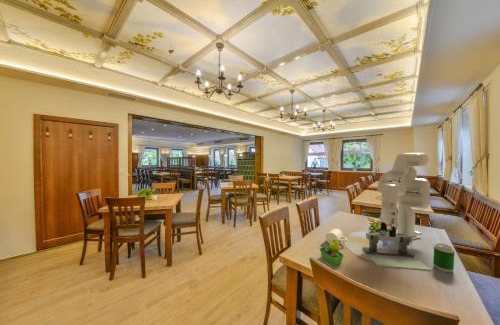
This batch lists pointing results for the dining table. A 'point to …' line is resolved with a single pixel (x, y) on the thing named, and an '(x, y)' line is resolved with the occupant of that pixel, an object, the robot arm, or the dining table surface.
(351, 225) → the dining table surface
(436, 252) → the soda can
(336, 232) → the mug
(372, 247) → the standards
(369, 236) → the rail
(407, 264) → the mat
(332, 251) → the fruit basket
